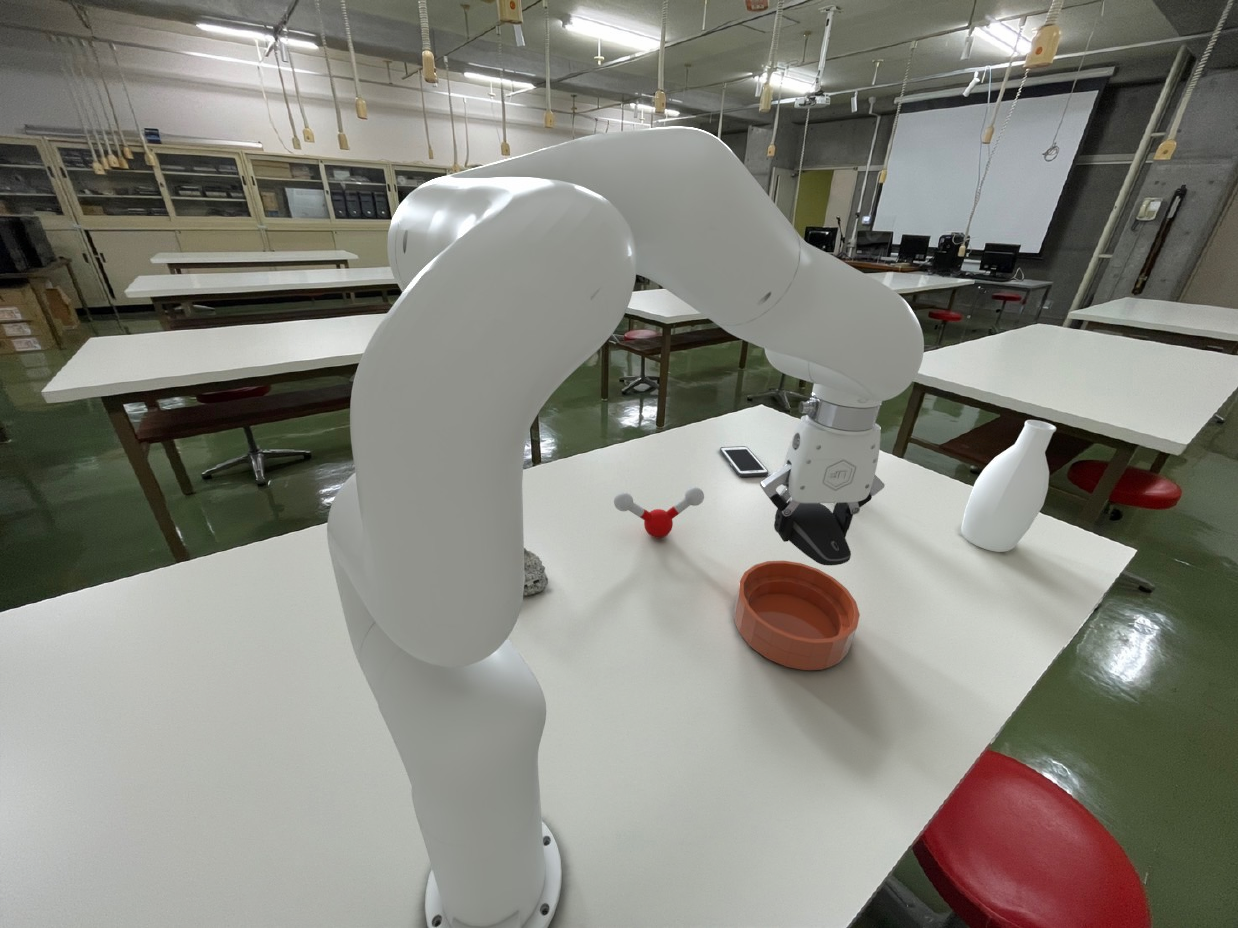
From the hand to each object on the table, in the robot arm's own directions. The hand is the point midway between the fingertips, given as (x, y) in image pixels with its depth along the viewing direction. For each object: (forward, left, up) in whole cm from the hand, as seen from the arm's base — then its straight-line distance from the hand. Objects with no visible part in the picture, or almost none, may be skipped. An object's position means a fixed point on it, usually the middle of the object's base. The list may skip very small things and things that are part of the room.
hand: (809, 533), depth 67 cm
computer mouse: (0, 0, -1) cm, 1 cm away
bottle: (+23, -52, -20) cm, 60 cm away
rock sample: (+16, +40, -20) cm, 47 cm away
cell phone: (+57, -12, -20) cm, 61 cm away
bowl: (+2, -2, -20) cm, 20 cm away
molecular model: (+28, +15, -20) cm, 37 cm away
